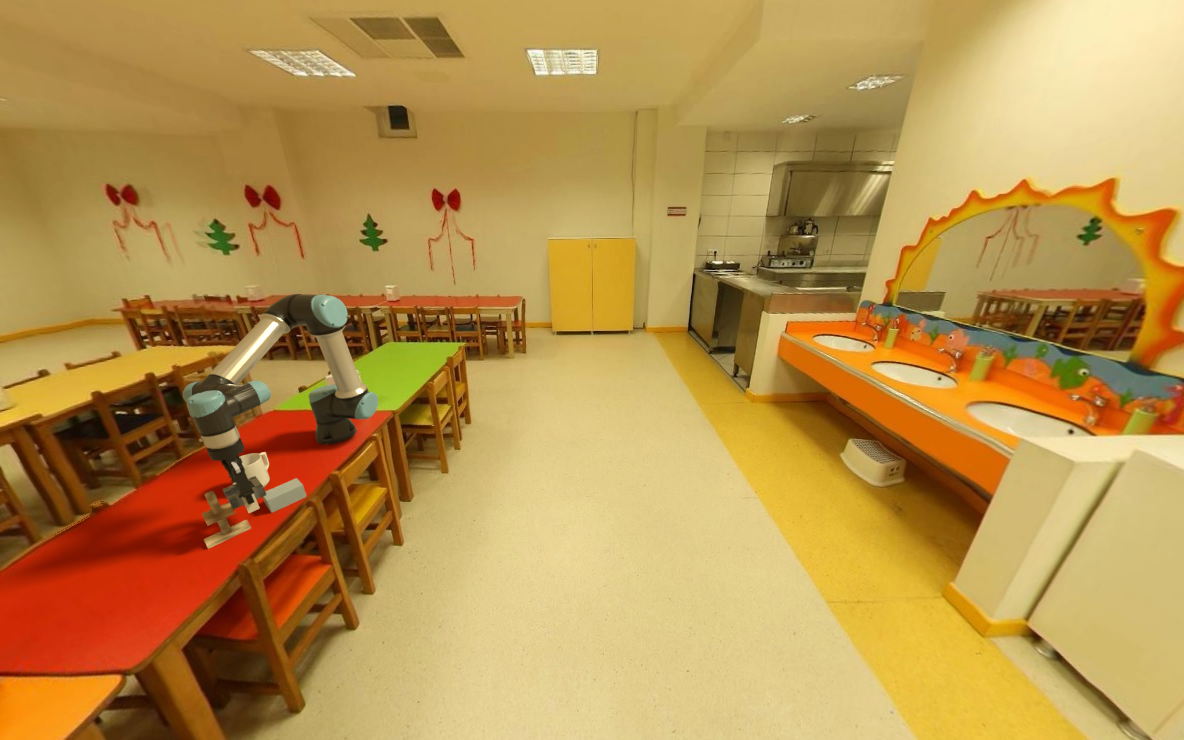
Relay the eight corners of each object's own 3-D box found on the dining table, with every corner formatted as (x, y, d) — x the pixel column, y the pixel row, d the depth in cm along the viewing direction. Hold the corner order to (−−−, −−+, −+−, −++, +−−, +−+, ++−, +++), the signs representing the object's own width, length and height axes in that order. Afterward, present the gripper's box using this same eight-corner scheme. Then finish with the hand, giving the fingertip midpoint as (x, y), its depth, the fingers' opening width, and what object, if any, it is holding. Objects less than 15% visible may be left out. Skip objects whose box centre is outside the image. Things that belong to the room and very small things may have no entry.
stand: (246, 520, 121) (229, 480, 115) (252, 529, 118) (234, 488, 112) (204, 540, 114) (183, 498, 108) (209, 550, 110) (187, 507, 104)
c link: (258, 484, 122) (255, 475, 121) (266, 495, 118) (263, 486, 117) (226, 498, 116) (222, 489, 115) (233, 509, 112) (229, 500, 111)
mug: (257, 494, 133) (246, 468, 128) (232, 494, 133) (220, 468, 128) (283, 473, 144) (274, 448, 140) (260, 472, 144) (250, 448, 140)
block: (300, 489, 135) (296, 478, 133) (306, 496, 132) (302, 484, 130) (265, 505, 128) (261, 493, 126) (271, 512, 125) (266, 500, 123)
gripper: (198, 436, 113) (225, 496, 121) (214, 462, 101) (243, 526, 110) (230, 425, 118) (255, 484, 127) (250, 449, 107) (275, 512, 115)
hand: (249, 504), depth 118 cm, fingers closed on c link, 8 cm apart
